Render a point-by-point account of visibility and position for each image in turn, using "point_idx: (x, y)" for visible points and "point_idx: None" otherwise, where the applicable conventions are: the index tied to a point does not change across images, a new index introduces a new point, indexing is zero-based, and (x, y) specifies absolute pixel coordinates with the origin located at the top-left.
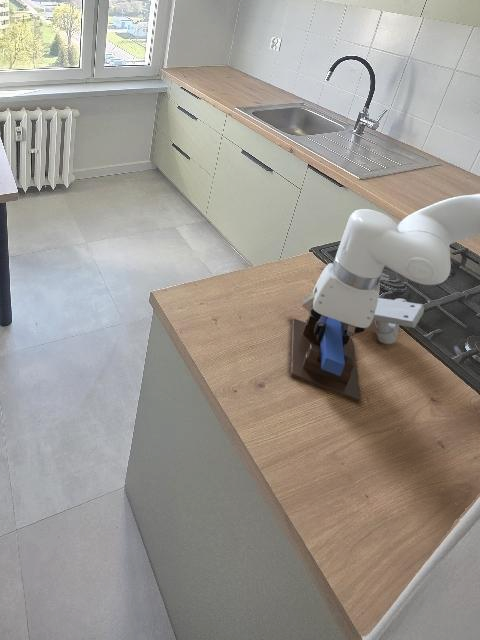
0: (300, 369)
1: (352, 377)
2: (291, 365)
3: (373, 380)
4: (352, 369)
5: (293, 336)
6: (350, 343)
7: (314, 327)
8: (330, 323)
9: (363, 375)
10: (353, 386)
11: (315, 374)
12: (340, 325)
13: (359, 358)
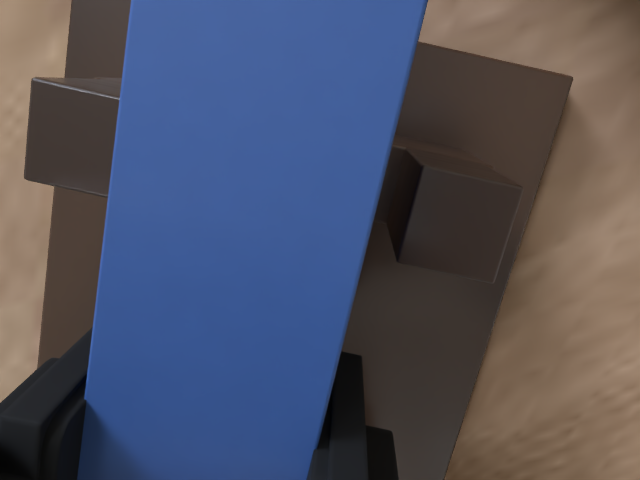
0: None
1: (423, 446)
2: None
3: (579, 392)
4: (448, 386)
5: (57, 188)
6: (532, 143)
7: (50, 361)
8: (172, 426)
9: (524, 370)
10: None
11: None
12: (312, 435)
13: (559, 233)
